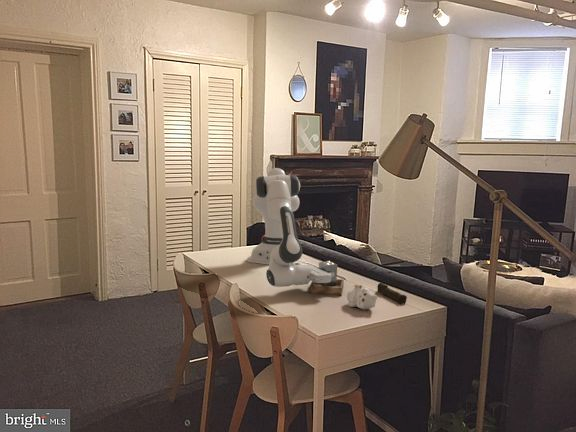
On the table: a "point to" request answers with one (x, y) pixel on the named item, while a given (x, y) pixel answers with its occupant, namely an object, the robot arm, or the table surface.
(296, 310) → the table surface
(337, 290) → the walnut tray
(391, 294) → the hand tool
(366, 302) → the cat figurine
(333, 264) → the gravel tin
